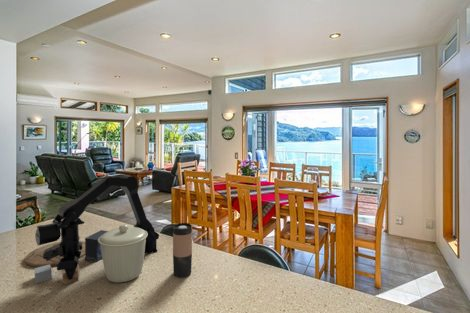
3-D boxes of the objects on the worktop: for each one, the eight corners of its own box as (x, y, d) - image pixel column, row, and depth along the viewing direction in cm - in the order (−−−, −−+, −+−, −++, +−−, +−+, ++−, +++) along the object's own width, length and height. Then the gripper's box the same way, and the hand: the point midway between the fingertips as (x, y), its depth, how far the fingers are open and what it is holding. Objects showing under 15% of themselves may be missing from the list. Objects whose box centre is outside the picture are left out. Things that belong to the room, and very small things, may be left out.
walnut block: (79, 274, 104) (79, 264, 103) (78, 280, 99) (77, 270, 99) (64, 277, 101) (64, 267, 101) (62, 283, 97) (62, 273, 97)
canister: (98, 294, 91) (97, 236, 90) (99, 270, 107) (98, 220, 106) (151, 281, 100) (151, 228, 98) (144, 261, 116) (144, 215, 114)
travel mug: (195, 270, 108) (195, 224, 107) (185, 279, 101) (186, 230, 100) (179, 267, 111) (179, 221, 109) (169, 276, 104) (169, 227, 102)
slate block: (50, 273, 104) (50, 264, 104) (51, 279, 100) (51, 269, 100) (34, 278, 101) (34, 268, 100) (35, 283, 97) (35, 273, 97)
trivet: (51, 273, 105) (50, 268, 105) (11, 262, 113) (11, 257, 113) (101, 248, 128) (101, 245, 128) (66, 240, 137) (65, 237, 137)
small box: (97, 262, 114) (96, 239, 113) (84, 260, 115) (83, 238, 114) (113, 252, 124) (112, 230, 123) (101, 250, 125) (100, 229, 124)
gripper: (50, 231, 104) (51, 268, 105) (38, 250, 87) (40, 294, 88) (81, 228, 109) (82, 263, 110) (76, 245, 92) (77, 286, 93)
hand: (71, 275), depth 100 cm, fingers closed on walnut block, 5 cm apart
